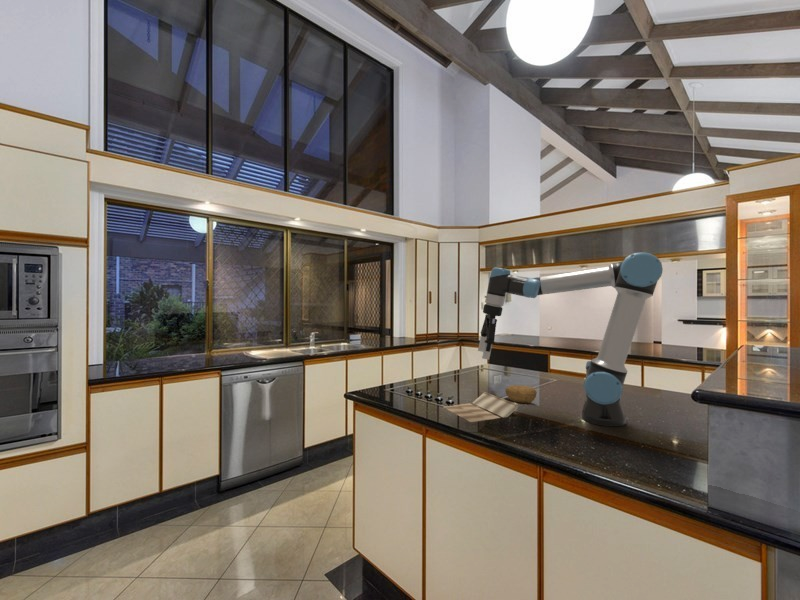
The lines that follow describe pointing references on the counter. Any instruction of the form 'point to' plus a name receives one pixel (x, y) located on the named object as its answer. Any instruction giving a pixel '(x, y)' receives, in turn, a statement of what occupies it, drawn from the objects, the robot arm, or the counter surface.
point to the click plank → (495, 404)
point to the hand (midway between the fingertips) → (483, 355)
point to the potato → (521, 393)
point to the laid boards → (471, 412)
